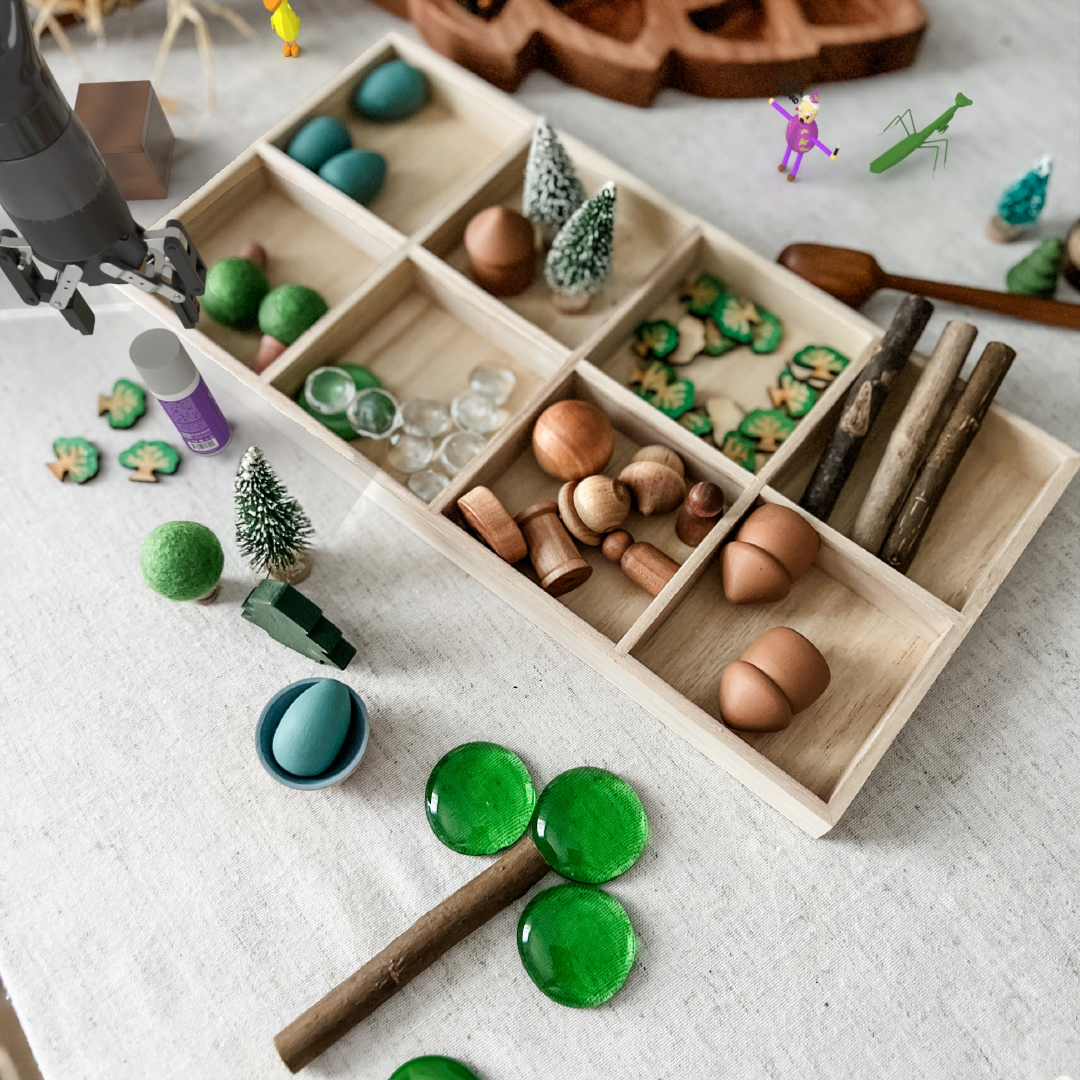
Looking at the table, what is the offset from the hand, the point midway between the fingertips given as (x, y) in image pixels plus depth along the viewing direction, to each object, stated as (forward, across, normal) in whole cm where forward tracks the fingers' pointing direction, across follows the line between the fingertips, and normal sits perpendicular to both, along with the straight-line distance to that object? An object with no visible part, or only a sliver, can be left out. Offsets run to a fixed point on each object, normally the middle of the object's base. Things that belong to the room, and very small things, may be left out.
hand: (140, 324), depth 79 cm
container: (+18, 0, 0) cm, 19 cm away
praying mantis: (+19, -81, -34) cm, 90 cm away
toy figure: (+18, -6, -57) cm, 60 cm away
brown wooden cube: (+18, +12, -38) cm, 44 cm away
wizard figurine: (+19, -66, -32) cm, 76 cm away
